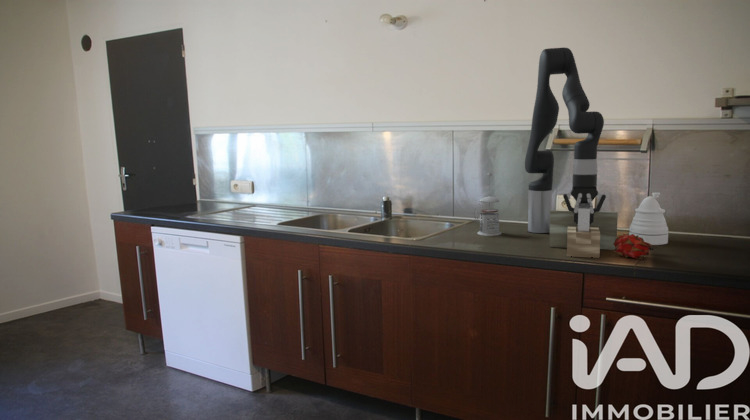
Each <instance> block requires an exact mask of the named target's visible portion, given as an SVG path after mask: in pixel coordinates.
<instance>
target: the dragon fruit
mask: <svg viewBox="0 0 750 420" xmlns="http://www.w3.org/2000/svg"><path fill="white" fill-rule="evenodd" d="M613 244H614V246H615V250H613V251H614V252H616V253H619V254H620V253H621V254H622V257H623V258H625V259H627V258H628V257H629V258H633V259H636V260H643V259H645V258H644V257H643V256H649V255H650V252H651V251H654V247H653V245H651V244H650V243H647V242H644V240H643V238H641V237H639V236H638V235H637V236H635V235H634V234H632V235H629V233H623V234H622V235H618V236H617V239H615V242H614V243H613ZM641 256H642V257H641Z"/></svg>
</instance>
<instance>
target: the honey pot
mask: <svg viewBox="0 0 750 420" xmlns="http://www.w3.org/2000/svg"><path fill="white" fill-rule="evenodd" d="M651 194H652V196H650V195H649V196H646V197H645V198H644V199H643V200H642V201H641V202H640V204H639V206H638V207H637V208H635V209H634V212H635V214H634V215H633V216H632V221H631V224H630V225H629V228H628V229H629V232H628V234H629V235H632V234H634V235H635V236H637V235H638V236H639V237H641V238H643V240H644V242H647V243H650V244H651V245H652V246H659V245H660V246H661V245H667V244H668V243H669V227H668V224H667V221H666V217H665V215H664V213H665V212H666V209H664V208H661V205H660V203H659V202H658V200H657V199H658V198H660V195H661V192H652V193H651Z"/></svg>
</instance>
